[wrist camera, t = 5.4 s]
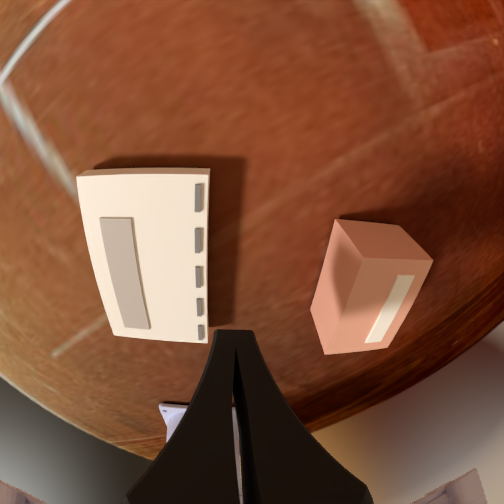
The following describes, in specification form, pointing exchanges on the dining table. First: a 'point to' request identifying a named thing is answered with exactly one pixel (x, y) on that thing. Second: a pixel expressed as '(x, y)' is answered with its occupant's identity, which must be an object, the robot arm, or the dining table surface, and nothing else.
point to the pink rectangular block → (366, 285)
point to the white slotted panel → (150, 249)
